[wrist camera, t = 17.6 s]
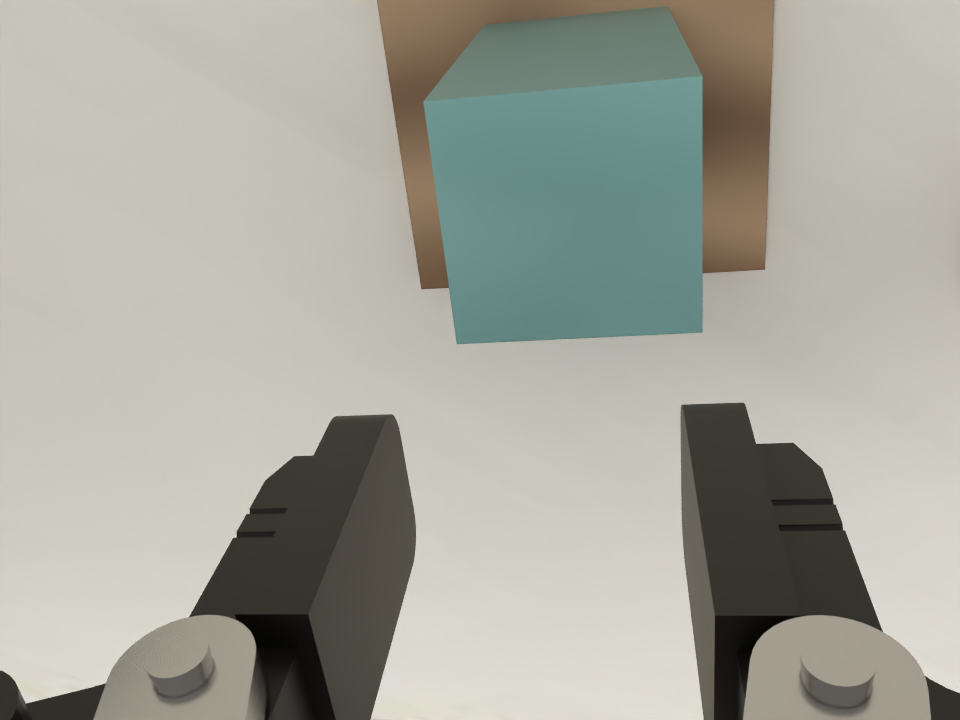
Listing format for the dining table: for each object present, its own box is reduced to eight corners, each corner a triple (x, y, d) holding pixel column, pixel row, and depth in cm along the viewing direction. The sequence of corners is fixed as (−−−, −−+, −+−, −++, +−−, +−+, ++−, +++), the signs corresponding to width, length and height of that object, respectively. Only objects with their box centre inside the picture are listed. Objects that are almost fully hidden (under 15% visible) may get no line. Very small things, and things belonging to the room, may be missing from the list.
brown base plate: (761, 260, 32) (804, 366, 25) (425, 280, 33) (379, 384, 27) (773, -128, 26) (834, -129, 19) (371, -78, 28) (296, -63, 21)
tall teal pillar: (669, 185, 30) (702, 332, 20) (502, 198, 31) (457, 344, 21) (667, 5, 27) (703, 76, 18) (484, 24, 28) (423, 101, 19)
